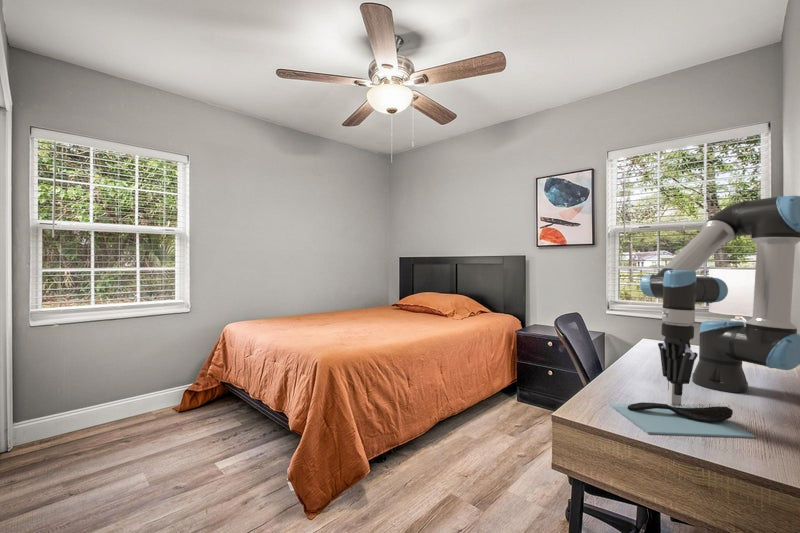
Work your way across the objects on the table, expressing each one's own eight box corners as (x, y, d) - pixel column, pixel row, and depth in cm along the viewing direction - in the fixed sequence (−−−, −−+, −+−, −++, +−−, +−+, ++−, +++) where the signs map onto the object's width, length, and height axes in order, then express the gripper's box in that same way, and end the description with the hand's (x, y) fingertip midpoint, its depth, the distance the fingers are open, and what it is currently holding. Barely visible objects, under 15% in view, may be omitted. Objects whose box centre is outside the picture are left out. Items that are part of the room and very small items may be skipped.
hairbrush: (622, 394, 111) (721, 399, 105) (623, 406, 111) (721, 412, 105) (633, 405, 103) (740, 411, 97) (633, 418, 103) (740, 425, 97)
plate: (694, 407, 112) (694, 404, 112) (755, 439, 92) (755, 435, 92) (606, 404, 113) (606, 401, 113) (647, 435, 93) (647, 431, 93)
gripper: (650, 319, 114) (647, 396, 114) (680, 327, 101) (677, 413, 101) (675, 320, 114) (672, 397, 114) (708, 328, 101) (705, 414, 101)
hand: (674, 404), depth 108 cm, fingers closed
